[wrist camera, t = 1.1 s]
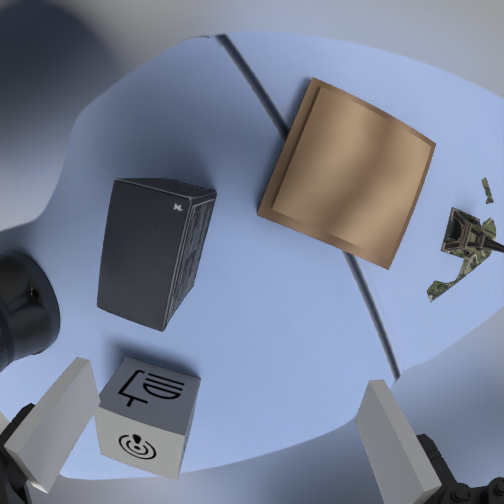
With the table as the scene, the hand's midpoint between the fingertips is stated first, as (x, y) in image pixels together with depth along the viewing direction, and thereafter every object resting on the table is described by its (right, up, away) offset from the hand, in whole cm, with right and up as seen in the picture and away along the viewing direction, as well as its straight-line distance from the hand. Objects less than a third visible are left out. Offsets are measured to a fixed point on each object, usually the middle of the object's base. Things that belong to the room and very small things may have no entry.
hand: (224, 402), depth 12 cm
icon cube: (-11, -12, +23) cm, 29 cm away
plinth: (+11, +14, +16) cm, 24 cm away
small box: (-7, +9, +18) cm, 21 cm away
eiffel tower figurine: (+27, +9, +18) cm, 33 cm away
